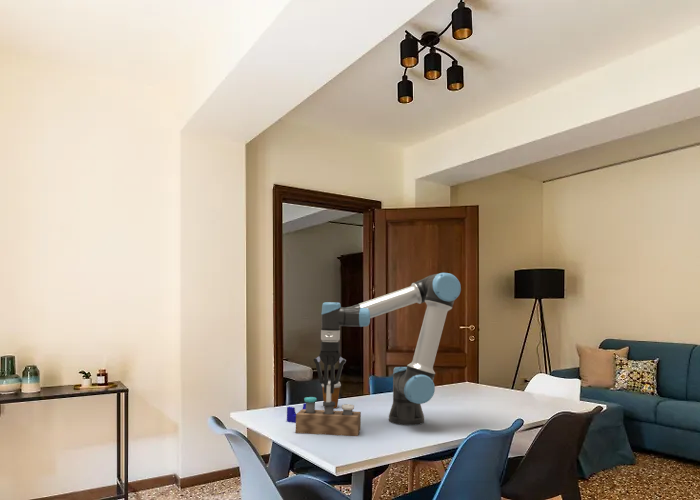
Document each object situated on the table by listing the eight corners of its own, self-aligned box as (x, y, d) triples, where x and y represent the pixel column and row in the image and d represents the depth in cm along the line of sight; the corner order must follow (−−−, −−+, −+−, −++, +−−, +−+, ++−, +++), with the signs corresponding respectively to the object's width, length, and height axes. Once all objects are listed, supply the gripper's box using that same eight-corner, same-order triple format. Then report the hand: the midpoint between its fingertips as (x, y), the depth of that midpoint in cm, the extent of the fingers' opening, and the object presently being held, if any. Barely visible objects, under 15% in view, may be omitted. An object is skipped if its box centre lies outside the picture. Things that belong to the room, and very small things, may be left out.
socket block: (360, 429, 207) (360, 411, 207) (357, 436, 197) (357, 417, 198) (301, 426, 210) (302, 409, 211) (295, 432, 200) (296, 414, 201)
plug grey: (354, 428, 204) (354, 404, 205) (352, 430, 200) (353, 406, 201) (342, 427, 205) (342, 404, 206) (340, 430, 200) (340, 406, 201)
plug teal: (317, 420, 207) (317, 397, 208) (314, 423, 202) (315, 399, 203) (305, 419, 208) (305, 396, 208) (302, 422, 203) (303, 398, 204)
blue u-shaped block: (294, 423, 217) (295, 408, 218) (286, 421, 220) (287, 407, 220) (313, 418, 227) (313, 404, 227) (305, 417, 229) (305, 403, 230)
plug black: (335, 424, 206) (336, 401, 207) (333, 427, 201) (334, 403, 202) (323, 424, 206) (324, 401, 207) (321, 427, 202) (321, 403, 203)
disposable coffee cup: (332, 410, 243) (332, 384, 244) (316, 407, 249) (317, 382, 250) (344, 407, 251) (345, 382, 252) (329, 404, 256) (329, 380, 258)
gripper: (312, 341, 204) (310, 402, 202) (345, 342, 202) (343, 404, 200) (316, 339, 212) (314, 399, 209) (347, 341, 210) (346, 400, 207)
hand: (328, 401), depth 205 cm, fingers closed
